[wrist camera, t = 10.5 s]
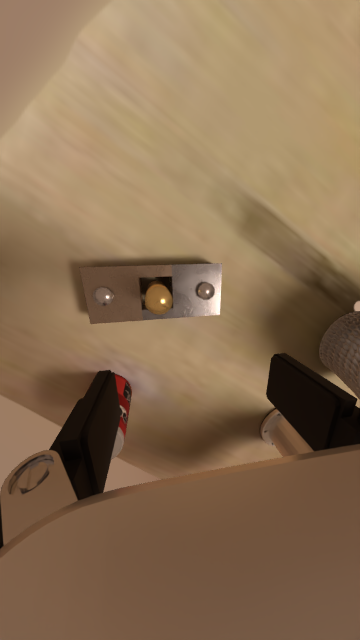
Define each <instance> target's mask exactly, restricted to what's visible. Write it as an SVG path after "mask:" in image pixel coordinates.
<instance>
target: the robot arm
mask: <svg viewBox="0 0 360 640" xmlns="http://www.w3.org/2000/svg"><path fill="white" fill-rule="evenodd" d="M266 395H267V398H268V399H269V401H270V402H271V403H272V404H273V405H274V406H275V407H276V409H275V410H274V411H272V412H271V413H270V414H269V415H268V416H267V417H266V418H265V419H264V421H263V423H262V425H261V429H260V433H261V436H262V438H263V440H264V441H265V442H266V443H267V444H269V445H271V446H276V448H277V449H278V451H279V452H280V453H281V455H282V456H283V457H281V458H275V459H270V460H264V461H258V462H253V463H247V464H242V465H237V466H231V467H226V468H220V469H215V470H210V471H204V472H199V473H194V474H188V475H183V476H178V477H172V478H167V479H162V480H157V481H152V482H148V483H143V484H139V485H133V486H128V487H124V488H119V489H115V490H111V491H108V492H104V493H103V490H104V487H105V482H106V478H107V474H108V470H109V465H110V461H111V457H112V453H113V448H114V444H115V440H116V436H117V431H118V427H119V423H120V418H121V410H120V404H119V398H118V391H117V385H116V378H115V373H114V372H112V373H111V371H110V370H105V371H99V372H98V373H97V375H96V377H95V379H94V380H93V382H92V384H91V386H90V387H89V389H88V391H87V393H86V395H85V396H84V398H82V399H80V400H79V401H78V402H77V404H76V405H75V407H74V409H73V410H72V412H71V414H70V415H69V417H68V419H67V421H66V422H65V424H64V426H63V427H62V429H61V431H60V432H59V434H58V436H57V437H56V439H55V441H54V443H53V444H52V446H51V448H50V449H49V450H45V451H41V452H39V453H36V454H34V455H32V456H30V457H28V458H27V459H25V460H24V461H23V462H21V463H20V464H19V465H18V466H17V467H16V468H15V469H14V470H12V472H11V473H10V474H9V475H8V477H7V478H6V479H5V481H4V483H3V485H2V487H1V492H0V640H360V408H358V407H357V406H355V405H356V402H357V398H355V397H353V396H352V395H350V394H349V393H347V392H346V391H344V390H342V389H341V388H339V387H338V386H336V385H335V384H333V383H331V382H330V381H328V380H327V379H325V378H324V377H322V376H320V375H319V374H317V373H316V372H314V371H313V370H311V369H309V368H308V367H306V366H305V365H303V364H302V363H300V362H298V361H297V360H295V359H294V358H292V357H291V356H289V355H287V354H286V353H280V354H274V356H273V357H272V358H271V363H270V371H269V378H268V385H267V392H266Z"/></svg>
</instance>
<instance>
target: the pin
mask: <svg viewBox="0 0 360 640" xmlns="http://www.w3.org/2000/svg"><path fill="white" fill-rule="evenodd" d="M172 303H173V299H172V296H171V294H170V292H169V291H168V289H167V288H166V286H165V285H164V284H163V283H162V282H160V281H153V282H151V283H150V284H149V285H148V288H147V292H146V297H145V305H146V307H147V309H148V310H149V311H150V312H151V313H154V314H158V315H160V314H164V313H166V312H168V311H169V310H170V308H171V306H172Z"/></svg>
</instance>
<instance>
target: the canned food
mask: <svg viewBox="0 0 360 640" xmlns="http://www.w3.org/2000/svg"><path fill="white" fill-rule="evenodd" d="M115 378H116V385H117V391H118V398H119V404H120V410H121V418H120V423H119V427H118V431H117V436H116V440H115V444H114V448H113V453H112V457H111V459H113V458H114V457H116V456H117V455H118V454H119V453H120V451H121V450H122V447H123V444H124V439H125V434H126V428H127V421H128V415H129V408H130V402H131V395H132V390H131V386H130V384H129V382H128V381H127V380H126V379H125V378H123V377H122V376H119V375H116V374H115ZM90 386H91V385H90ZM85 395H86V394H85Z"/></svg>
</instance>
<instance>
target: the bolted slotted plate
mask: <svg viewBox="0 0 360 640" xmlns="http://www.w3.org/2000/svg"><path fill="white" fill-rule="evenodd" d="M79 268H80V273H81V278H82V283H83V288H84V293H85V298H86V303H87V309H88V314H89V319H90V324H97V323H111V322H125V321H139V320H153V319H166V318H180V317H194V316H208V315H220V297H221V274H222V263H217V264H181V265H145V266H110V267H79ZM165 276H170V294H171V296H172V299H173V303H172V306H171V308H170V310H169V311H168V312H166V313H164V314H160V315H158V314H154V313H151V312H150V311H149V310H148V309H147V307H146V305H143V297H142V287H141V277H165Z"/></svg>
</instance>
